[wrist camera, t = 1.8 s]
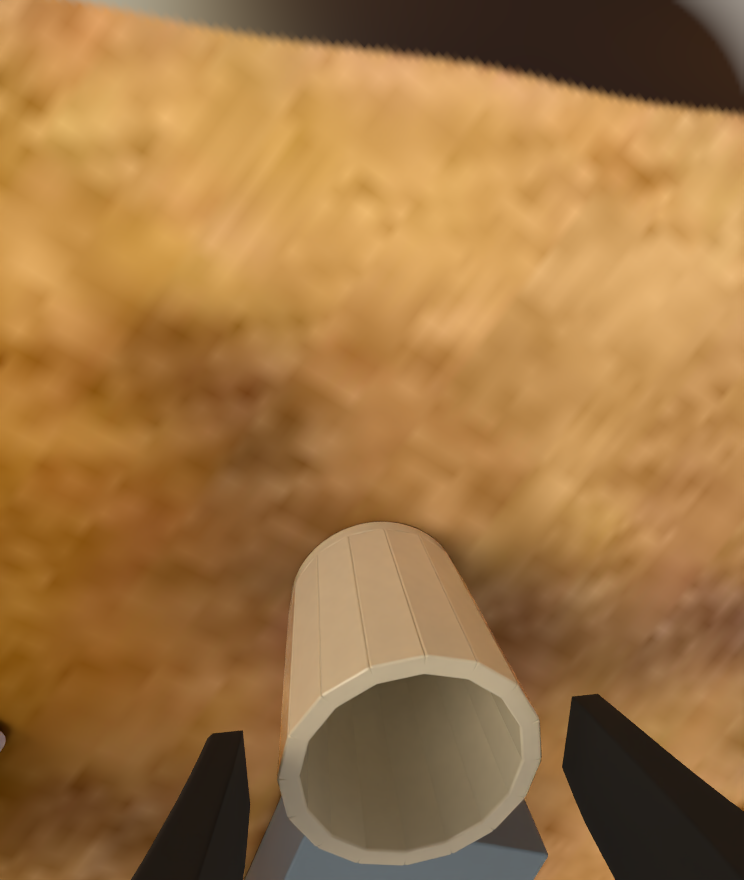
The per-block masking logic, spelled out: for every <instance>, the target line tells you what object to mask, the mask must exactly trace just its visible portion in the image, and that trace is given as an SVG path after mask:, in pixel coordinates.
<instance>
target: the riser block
mask: <svg viewBox="0 0 744 880" xmlns="http://www.w3.org/2000/svg"><path fill="white" fill-rule="evenodd" d="M547 857H548V853H547V851H546V848H545V846H544V844H543V841H542V839H541V837H540V834H539V832H538V830H537V827H536V825H535V823H534V820H533V818H532V816H531V813H530V811H529V809H528V806H527V804H526V802H525V799H524V800H523V801H522V802H521V803H520V804H519V805H518V806H517V807H516V808H515V809H514V810H513V811H512V812H511V813H510V814H509V815H508V816H507V817H506V819H505V820H504V821H503V822H502V823H501V824H500V825H499V826H498V827H497V828H496V829H494V830H493V831H492V832H491V833H489V834H487V835H486V836H484V837H482V838H480V839H478V840H477V841H475V842H473V843H471V844H470V845H468V846H466V847H464V848H462V849H461V850H459V851H457V852H455V853H451V854H450V855H447V856H443V857H439V858H435V859H431V860H427V861H423V862H418V863H414V864H410V865H403V866H396V865H373V864H359V863H354V862H352V861H349V860H347V859H344V858H342V857H339V856H337V855H334V854H332V853H329V852H326V851H324V850H321V849H319V848H318V847H317V846H314V844H313V843H312V842H311V841H310V840H309V839H308V838H307V837H306V836H305V835H304V834H303V833H302V832H301V831H300V830H299V829H298V828H297V827H296V826H295V825H294V824H293V823H292V822H291V821H290V820H289V817H287V814H286V810H285V807H284V803H283V799H282V796H281V798H280V801H279V803H278V805H277V807H276V810H275V812H274V814H273V817H272V819H271V821H270V823H269V826H268V828H267V830H266V832H265V835H264V837H263V839H262V842H261V844H260V846H259V848H258V851H257V853H256V855H255V857H254V860H253V862H252V864H251V866H250V869H249V871H248V873H247V876H246V878H245V880H534V878H535V877H536V875H537V873H538V872H539V870H540V868H541V867H542V865H543V864H544V862H545V860H546V859H547Z"/></svg>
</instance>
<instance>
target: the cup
mask: <svg viewBox="0 0 744 880" xmlns="http://www.w3.org/2000/svg"><path fill="white" fill-rule="evenodd" d="M541 757H542V756H541V737H540V720H539V716H538V714H537V713H536V711H535V709H534V707H533V705H532V704H531V702H530V700H529V698H528V696H527V694H526V693H525V691H524V689H523V687H522V685H521V684H520V682H519V680H518V678H517V676H516V675H515V673H514V671H513V669H512V667H511V665H510V664H509V662H508V660H507V658H506V656H505V655H504V653H503V651H502V649H501V647H500V646H499V644H498V642H497V640H496V638H495V636H494V635H493V633H492V631H491V629H490V627H489V626H488V624H487V622H486V620H485V618H484V617H483V615H482V613H481V611H480V609H479V607H478V606H477V604H476V602H475V600H474V598H473V597H472V595H471V593H470V591H469V589H468V587H467V586H466V584H465V582H464V580H463V578H462V577H461V575H460V573H459V572H458V570H457V569H456V567H455V565H454V564H453V562H452V560H451V558H450V556H449V555H448V553H447V552H446V551H445V549H444V548H443V547H442V546H441V545H440V544H439V543H438V542H437V541H436V540H435V539H433V538H432V537H431V536H429V535H428V534H426V533H424V532H422V531H421V530H418V529H416V528H413V527H411V526H408V525H404V524H400V523H393V522H371V523H363V524H359V525H355V526H352V527H349V528H347V529H344V530H342V531H340V532H338V533H336V534H334V535H332V536H331V537H329V538H328V539H326V540H325V541H323V542H322V543H321V544H320V545H319V546H317V547H316V548H315V549H314V550H313V551H312V552H311V554H310V555H309V556H308V557H307V558H306V560H305V561H304V563H303V564H302V566H301V567H300V569H299V571H298V573H297V575H296V578H295V581H294V584H293V588H292V594H291V604H290V608H289V615H288V629H287V643H286V657H285V672H284V686H283V700H282V714H281V728H280V742H279V757H278V771H277V781H278V784H279V788H280V792H281V795H282V799H283V803H284V807H285V810H286V814H287V817H289V820H290V821H291V822H292V823H293V824H294V825H295V826H296V827H297V828H298V829H299V830H300V831H301V832H302V833H303V834H304V835H305V836H306V837H307V838H308V839H309V840H310V841H311V842H312V843H313V844H314V846H317V847H318V848H319V849H321V850H324V851H326V852H329V853H332V854H334V855H337V856H339V857H342V858H344V859H347V860H349V861H352V862H354V863H359V864H373V865H396V866H403V865H410V864H414V863H418V862H423V861H427V860H431V859H435V858H439V857H443V856H447V855H450V854H451V853H455V852H457V851H459V850H461V849H462V848H464V847H466V846H468V845H470V844H471V843H473V842H475V841H477V840H478V839H480V838H482V837H484V836H486V835H487V834H489V833H491V832H492V831H493V830H494V829H496V828H497V827H498V826H499V825H500V824H501V823H502V822H503V821H504V820H505V819H506V817H507V816H508V815H509V814H510V813H511V812H512V811H513V810H514V809H515V808H516V807H517V806H518V805H519V804H520V803H521V802H522V801H523V800H524V797H525V796H526V795H527V793H528V790H529V788H530V785H531V783H532V781H533V778H534V776H535V774H536V771H537V769H538V767H539V764H540V762H541Z"/></svg>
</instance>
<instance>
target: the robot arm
mask: <svg viewBox="0 0 744 880" xmlns="http://www.w3.org/2000/svg"><path fill="white" fill-rule="evenodd" d="M5 743H6V739H5V736H4V734H3V733H2V732H1V731H0V751H1V750H2V749H3V747H4V745H5ZM562 768H563V771H564V773H565V776H566V778H567V781H568V783H569V786H570V788H571V791H572V793H573V796H574V798H575V800H576V803H577V805H578V807H579V810H580V812H581V814H582V817H583V819H584V821H585V823H586V825H587V827H588V829H589V831H590V833H591V835H592V837H593V839H594V841H595V842H596V844H597V846H598V848H599V850H600V852H601V854H602V856H603V858H604V859H605V861H606V863H607V865H608V867H609V869H610V871H611V873H612V874H613V876H614V878H615V880H744V811H742V810H741V809H740V808H738V807H737V806H736V805H734V804H733V803H732V802H730V801H729V800H728V799H726V798H725V797H724V796H723V795H721V794H720V793H719V792H717V791H716V790H715V789H714V788H712V787H711V786H710V785H708V784H707V783H706V782H705V781H703V780H702V779H701V778H700V777H698V776H697V775H696V774H694V773H693V772H692V771H691V770H689V769H688V768H687V767H686V766H685V765H683V764H682V763H681V762H680V761H678V760H677V759H676V758H675V757H673V756H672V755H671V754H670V753H669V752H667V751H666V750H665V749H664V748H662V747H661V746H660V745H659V744H658V743H656V742H655V741H654V740H653V739H652V738H650V737H649V736H648V735H647V734H646V733H644V732H643V731H642V730H641V729H640V728H638V727H637V726H636V725H635V724H634V723H632V722H631V721H630V720H629V719H628V718H626V717H625V716H624V715H623V714H622V713H620V712H619V711H618V710H617V709H616V708H614V707H613V706H612V705H611V704H610V703H608V702H607V701H606V700H605V699H603V698H602V697H601V696H600V695H598V694H593V695H583V696H573V697H572V701H571V708H570V715H569V722H568V729H567V737H566V744H565V751H564V758H563V765H562ZM249 813H250V799H249V789H248V779H247V768H246V758H245V748H244V738H243V731H233V732H224V733H214V734H212V735H211V736H210V737H209V738H208V739H207V741H206V743H205V745H204V747H203V749H202V752H201V754H200V756H199V758H198V760H197V762H196V764H195V766H194V768H193V770H192V772H191V774H190V776H189V778H188V780H187V782H186V784H185V786H184V788H183V790H182V792H181V794H180V795H179V797H178V799H177V801H176V803H175V805H174V807H173V809H172V810H171V812H170V814H169V816H168V817H167V819H166V821H165V823H164V824H163V826H162V828H161V830H160V831H159V833H158V835H157V837H156V839H155V840H154V842H153V844H152V846H151V847H150V849H149V851H148V853H147V854H146V856H145V858H144V859H143V861H142V863H141V864H140V866H139V867H138V869H137V871H136V872H135V874H134V876H133V877H132V879H131V880H243V875H244V869H245V859H246V848H247V837H248V825H249Z"/></svg>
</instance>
